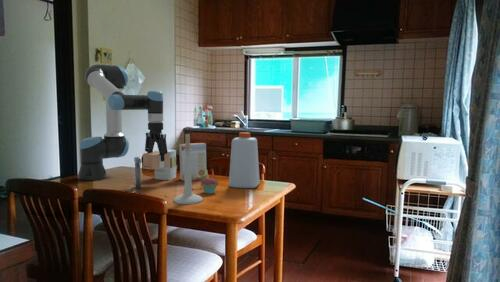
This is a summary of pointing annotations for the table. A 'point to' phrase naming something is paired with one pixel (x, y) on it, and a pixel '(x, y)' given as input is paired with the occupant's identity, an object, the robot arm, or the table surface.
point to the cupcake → (209, 184)
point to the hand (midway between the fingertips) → (156, 166)
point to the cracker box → (194, 161)
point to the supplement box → (167, 168)
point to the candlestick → (188, 179)
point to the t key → (137, 172)
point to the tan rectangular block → (154, 160)
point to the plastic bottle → (244, 162)
